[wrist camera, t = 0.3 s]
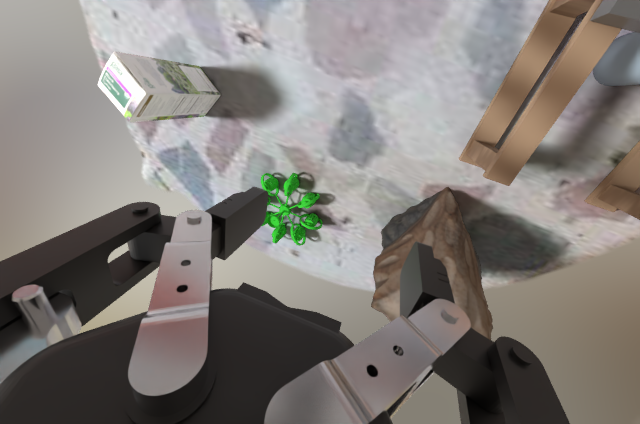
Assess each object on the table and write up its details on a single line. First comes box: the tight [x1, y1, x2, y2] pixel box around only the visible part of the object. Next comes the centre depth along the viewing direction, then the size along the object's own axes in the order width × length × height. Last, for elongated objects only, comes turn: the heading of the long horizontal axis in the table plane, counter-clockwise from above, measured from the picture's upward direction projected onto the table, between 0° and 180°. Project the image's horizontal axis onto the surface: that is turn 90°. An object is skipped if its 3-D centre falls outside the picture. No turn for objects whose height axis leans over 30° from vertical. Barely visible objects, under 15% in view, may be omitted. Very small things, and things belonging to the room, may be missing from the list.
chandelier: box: [261, 173, 322, 245], centre depth 44 cm, size 15×15×7 cm
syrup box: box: [98, 51, 221, 122], centre depth 36 cm, size 6×6×14 cm
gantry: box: [459, 0, 640, 220], centre depth 24 cm, size 20×20×11 cm
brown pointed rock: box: [371, 187, 493, 340], centre depth 33 cm, size 13×13×20 cm
